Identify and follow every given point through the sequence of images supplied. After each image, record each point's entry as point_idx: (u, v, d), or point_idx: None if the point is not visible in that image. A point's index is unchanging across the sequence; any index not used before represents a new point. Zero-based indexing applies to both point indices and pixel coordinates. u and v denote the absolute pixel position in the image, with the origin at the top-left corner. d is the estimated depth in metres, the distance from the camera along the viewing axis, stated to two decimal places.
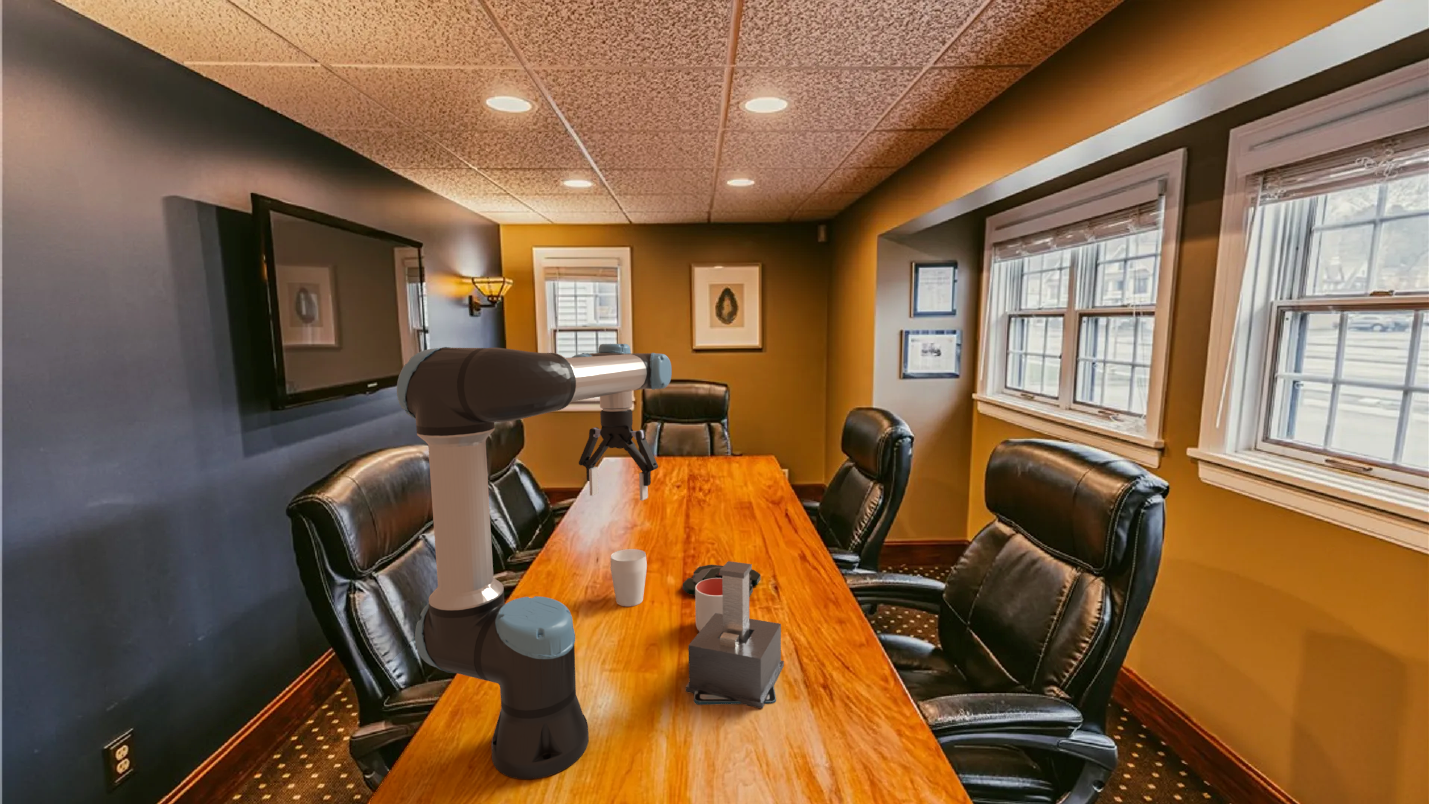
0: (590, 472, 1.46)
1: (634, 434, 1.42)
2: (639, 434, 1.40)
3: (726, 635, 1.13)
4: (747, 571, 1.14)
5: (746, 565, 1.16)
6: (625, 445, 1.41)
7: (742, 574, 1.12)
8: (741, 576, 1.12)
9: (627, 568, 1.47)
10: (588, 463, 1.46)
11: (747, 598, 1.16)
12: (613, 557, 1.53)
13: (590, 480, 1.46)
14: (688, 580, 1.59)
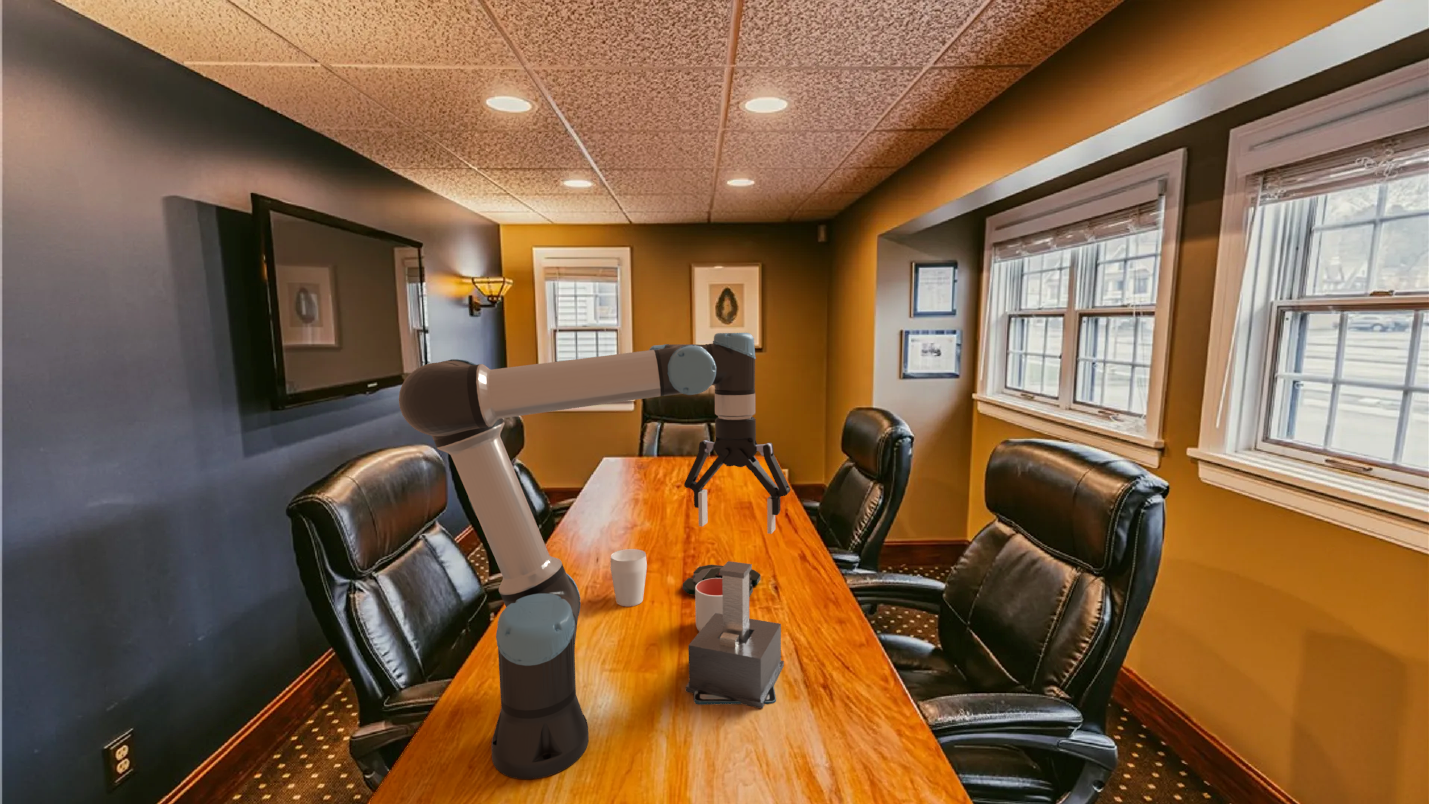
0: (700, 497, 1.15)
1: (760, 449, 1.10)
2: (768, 449, 1.09)
3: (726, 635, 1.13)
4: (747, 571, 1.14)
5: (746, 565, 1.16)
6: (749, 463, 1.10)
7: (742, 574, 1.12)
8: (741, 576, 1.12)
9: (627, 568, 1.47)
10: (697, 485, 1.15)
11: (747, 598, 1.16)
12: (613, 557, 1.53)
13: (699, 507, 1.15)
14: (688, 580, 1.59)
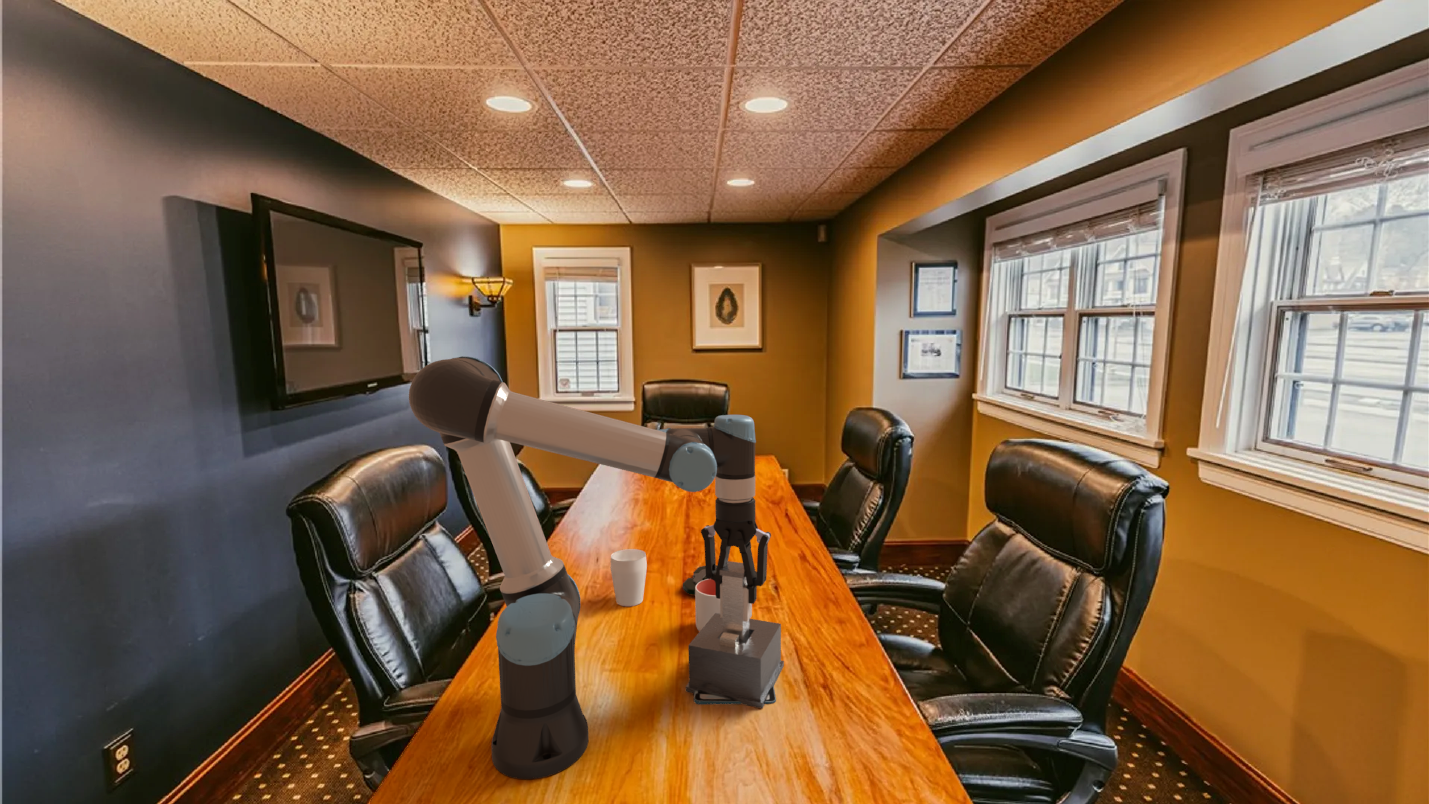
0: (721, 588, 1.15)
1: (758, 535, 1.12)
2: (765, 541, 1.11)
3: (726, 635, 1.13)
4: None
5: None
6: (743, 547, 1.12)
7: (742, 574, 1.12)
8: (741, 576, 1.12)
9: (627, 568, 1.47)
10: (717, 576, 1.15)
11: None
12: (613, 557, 1.53)
13: (721, 598, 1.15)
14: (688, 580, 1.59)
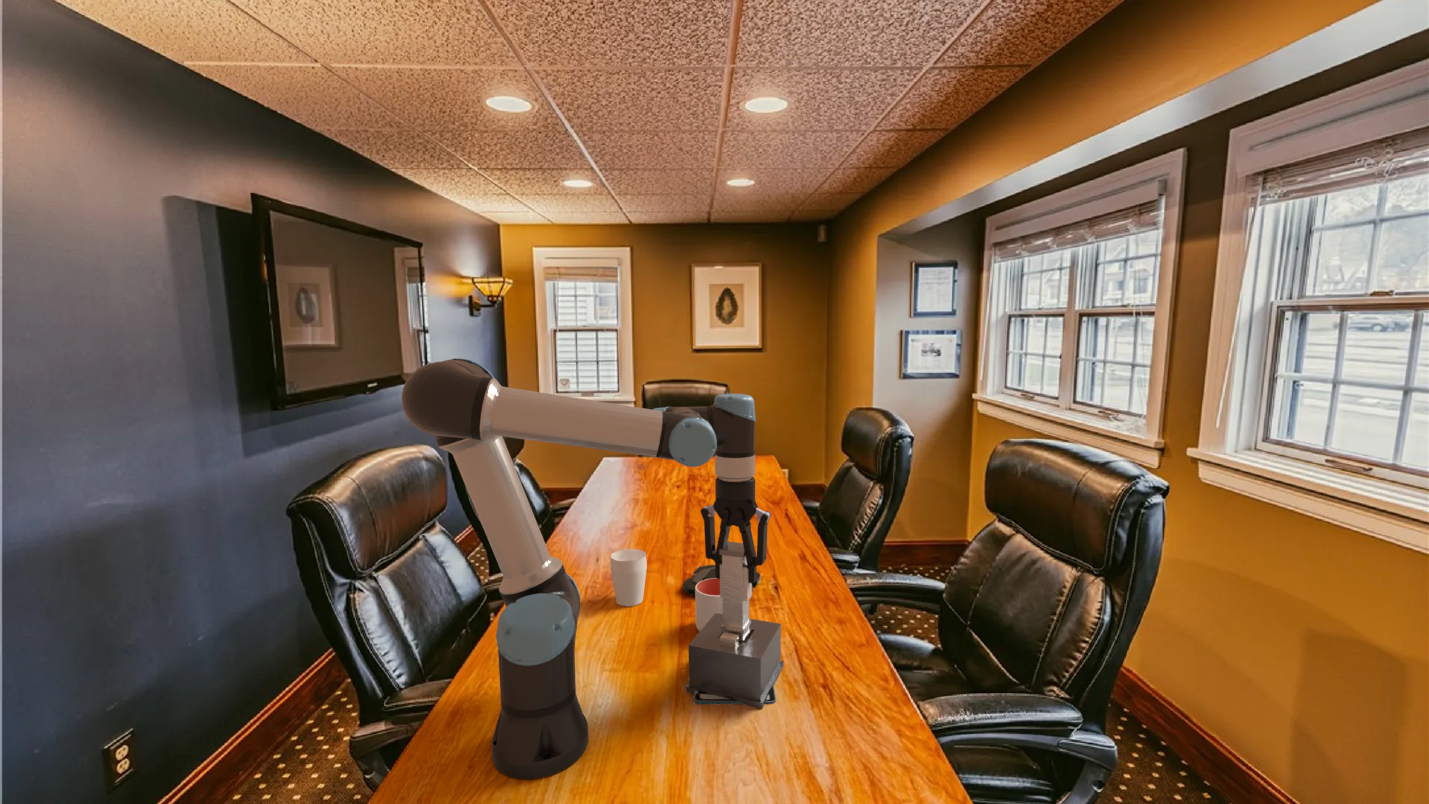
0: (721, 568, 1.14)
1: (758, 514, 1.12)
2: (765, 519, 1.10)
3: (726, 635, 1.13)
4: None
5: None
6: (742, 527, 1.12)
7: (742, 553, 1.11)
8: (741, 555, 1.12)
9: (627, 568, 1.47)
10: (717, 556, 1.15)
11: None
12: (613, 557, 1.53)
13: (721, 578, 1.15)
14: (688, 580, 1.59)
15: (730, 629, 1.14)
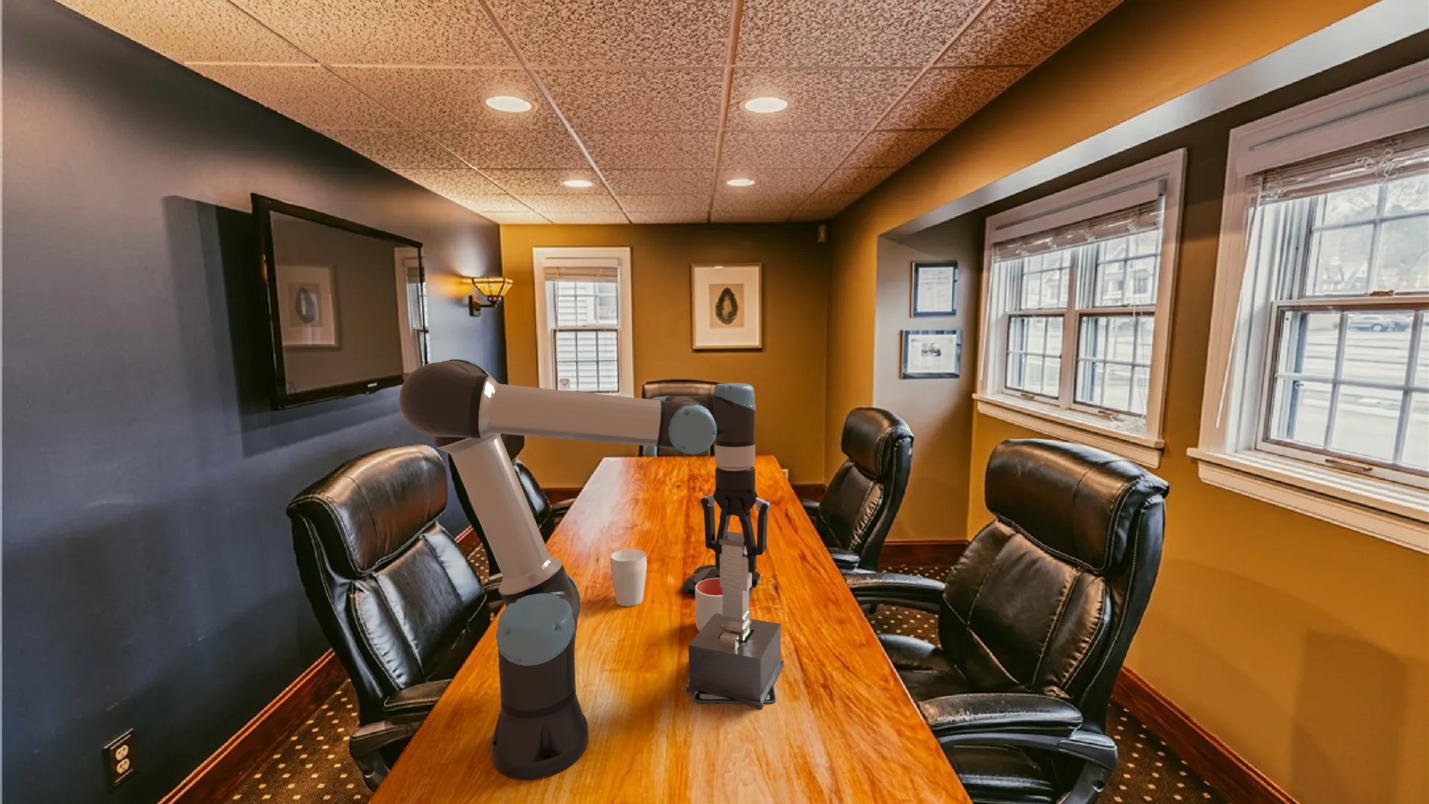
0: (721, 558, 1.14)
1: (758, 504, 1.11)
2: (765, 509, 1.10)
3: (726, 635, 1.13)
4: None
5: None
6: (742, 516, 1.11)
7: (742, 543, 1.11)
8: (741, 545, 1.11)
9: (627, 568, 1.47)
10: (717, 546, 1.14)
11: None
12: (613, 557, 1.53)
13: (721, 568, 1.14)
14: (688, 580, 1.59)
15: (730, 619, 1.14)
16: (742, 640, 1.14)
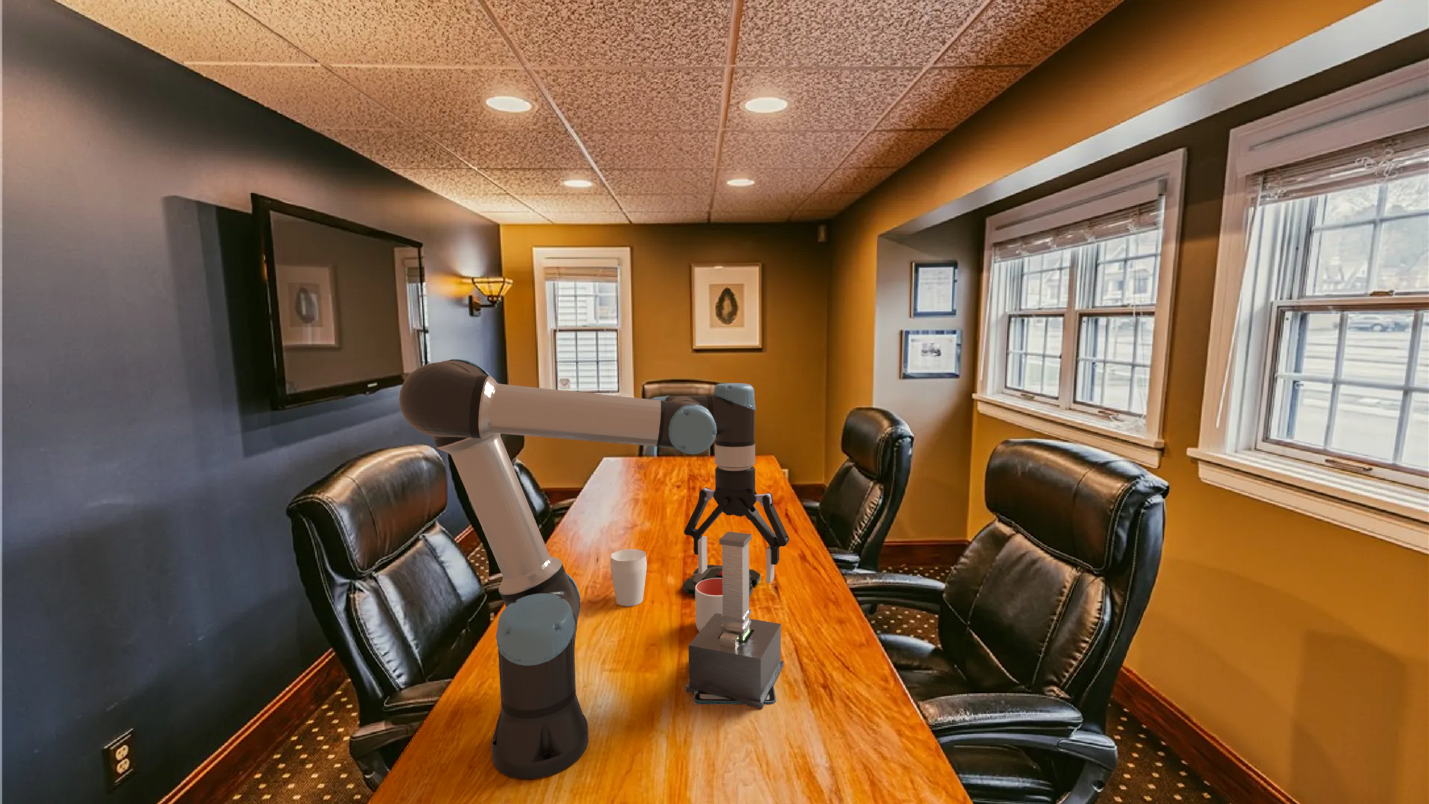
0: (699, 544, 1.16)
1: (759, 499, 1.11)
2: (767, 500, 1.10)
3: (726, 635, 1.13)
4: (747, 540, 1.13)
5: (746, 535, 1.15)
6: (748, 513, 1.11)
7: (742, 543, 1.11)
8: (741, 545, 1.11)
9: (627, 568, 1.47)
10: (697, 533, 1.16)
11: (747, 568, 1.15)
12: (613, 557, 1.53)
13: (699, 554, 1.16)
14: (688, 580, 1.59)
15: (730, 619, 1.14)
16: (742, 640, 1.14)
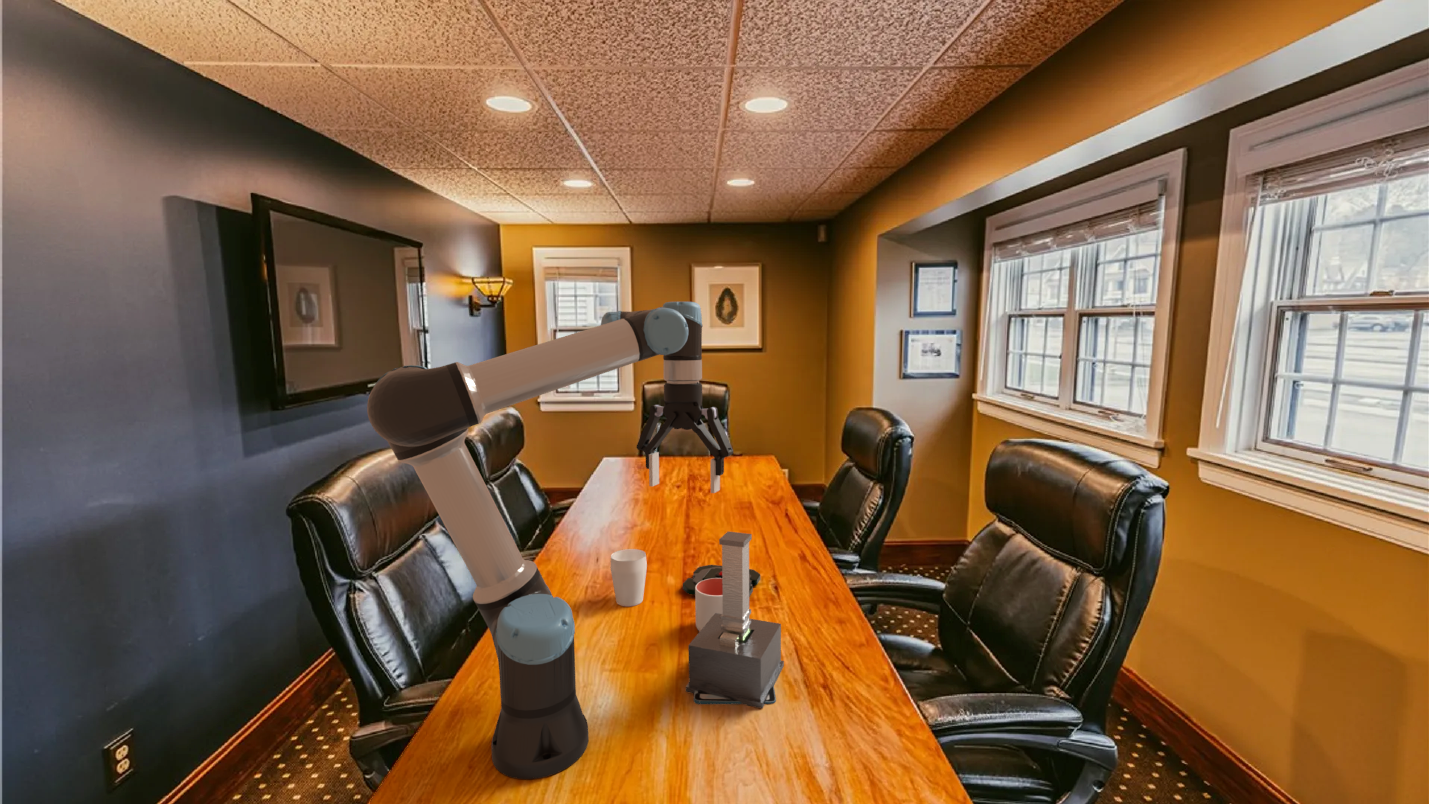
0: (650, 458, 1.21)
1: (704, 412, 1.16)
2: (711, 412, 1.15)
3: (726, 635, 1.13)
4: (747, 540, 1.13)
5: (746, 535, 1.15)
6: (694, 425, 1.16)
7: (742, 543, 1.11)
8: (741, 545, 1.11)
9: (627, 568, 1.47)
10: (648, 447, 1.21)
11: (747, 568, 1.15)
12: (613, 557, 1.53)
13: (650, 468, 1.22)
14: (688, 580, 1.59)
15: (730, 619, 1.14)
16: (742, 640, 1.14)
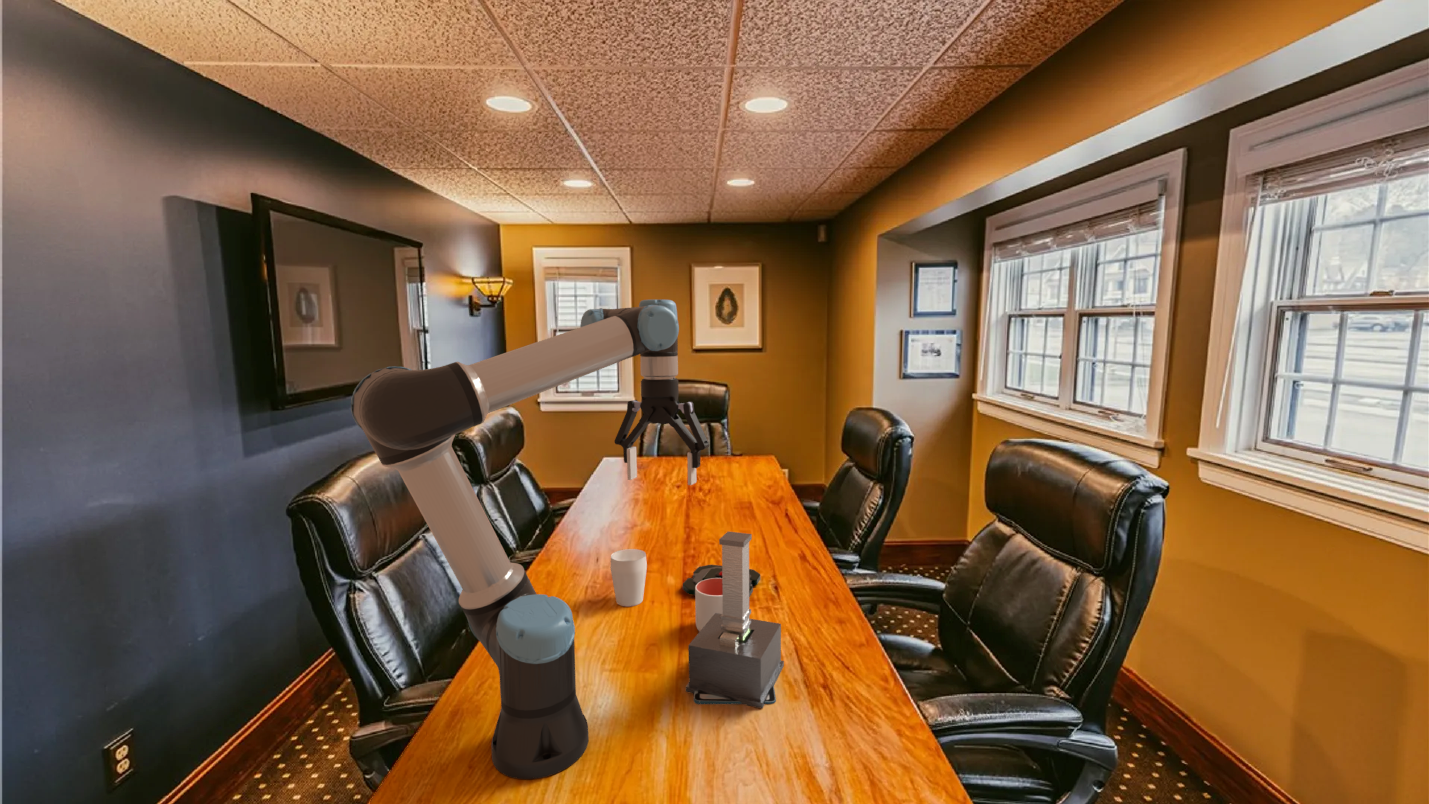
0: (628, 452, 1.24)
1: (681, 407, 1.20)
2: (688, 406, 1.19)
3: (726, 635, 1.13)
4: (747, 540, 1.13)
5: (746, 535, 1.15)
6: (671, 420, 1.20)
7: (742, 543, 1.11)
8: (741, 545, 1.11)
9: (627, 568, 1.47)
10: (626, 442, 1.24)
11: (747, 568, 1.15)
12: (613, 557, 1.53)
13: (628, 462, 1.25)
14: (688, 580, 1.59)
15: (730, 619, 1.14)
16: (742, 640, 1.14)
